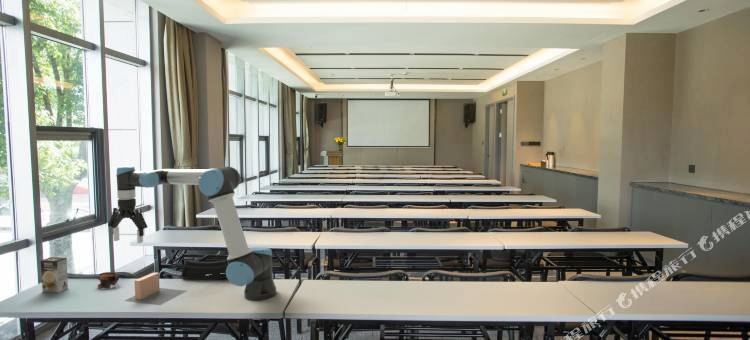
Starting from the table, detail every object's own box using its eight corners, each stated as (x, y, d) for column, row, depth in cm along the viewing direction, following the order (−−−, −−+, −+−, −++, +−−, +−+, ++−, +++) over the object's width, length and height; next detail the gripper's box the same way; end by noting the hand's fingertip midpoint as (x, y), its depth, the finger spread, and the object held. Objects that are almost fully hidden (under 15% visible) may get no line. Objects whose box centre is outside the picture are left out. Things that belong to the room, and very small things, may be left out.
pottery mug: (91, 290, 212) (93, 273, 216) (106, 292, 221) (108, 276, 224) (111, 285, 210) (113, 269, 214) (126, 287, 219) (127, 271, 222)
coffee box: (41, 292, 208) (39, 260, 207) (52, 287, 215) (50, 256, 213) (58, 292, 207) (56, 261, 206) (69, 288, 214) (67, 257, 212)
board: (159, 290, 209) (158, 272, 208) (140, 299, 197) (139, 281, 196) (154, 289, 209) (153, 272, 209) (135, 299, 198) (134, 280, 197)
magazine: (175, 263, 225) (228, 247, 225) (178, 261, 229) (230, 245, 228) (186, 293, 227) (238, 277, 226) (188, 290, 230) (240, 275, 229)
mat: (187, 292, 208) (187, 290, 208) (160, 306, 191) (160, 305, 191) (153, 288, 213) (153, 287, 213) (124, 302, 196) (124, 300, 196)
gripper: (154, 198, 203) (155, 241, 205) (111, 195, 208) (113, 237, 210) (142, 200, 195) (144, 245, 197) (98, 198, 201) (100, 241, 203)
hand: (128, 241), depth 204 cm, fingers open, 13 cm apart
